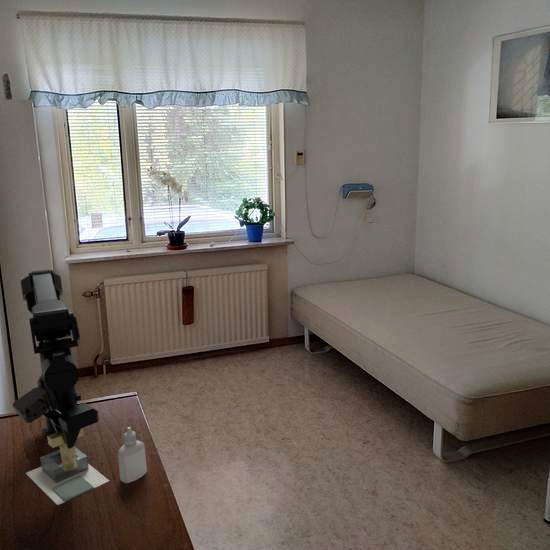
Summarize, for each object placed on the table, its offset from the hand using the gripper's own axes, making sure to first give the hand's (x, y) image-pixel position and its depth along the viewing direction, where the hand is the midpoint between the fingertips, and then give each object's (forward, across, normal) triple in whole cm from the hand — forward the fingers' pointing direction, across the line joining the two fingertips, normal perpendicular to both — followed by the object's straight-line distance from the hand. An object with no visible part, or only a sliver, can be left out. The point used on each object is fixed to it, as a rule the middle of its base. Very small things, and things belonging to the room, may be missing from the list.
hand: (67, 444), depth 111 cm
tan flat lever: (+5, 0, 0) cm, 5 cm away
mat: (+10, 0, 0) cm, 10 cm away
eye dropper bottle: (+11, +5, +11) cm, 16 cm away
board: (+11, -5, +1) cm, 12 cm away
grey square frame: (+10, -8, +2) cm, 13 cm away
